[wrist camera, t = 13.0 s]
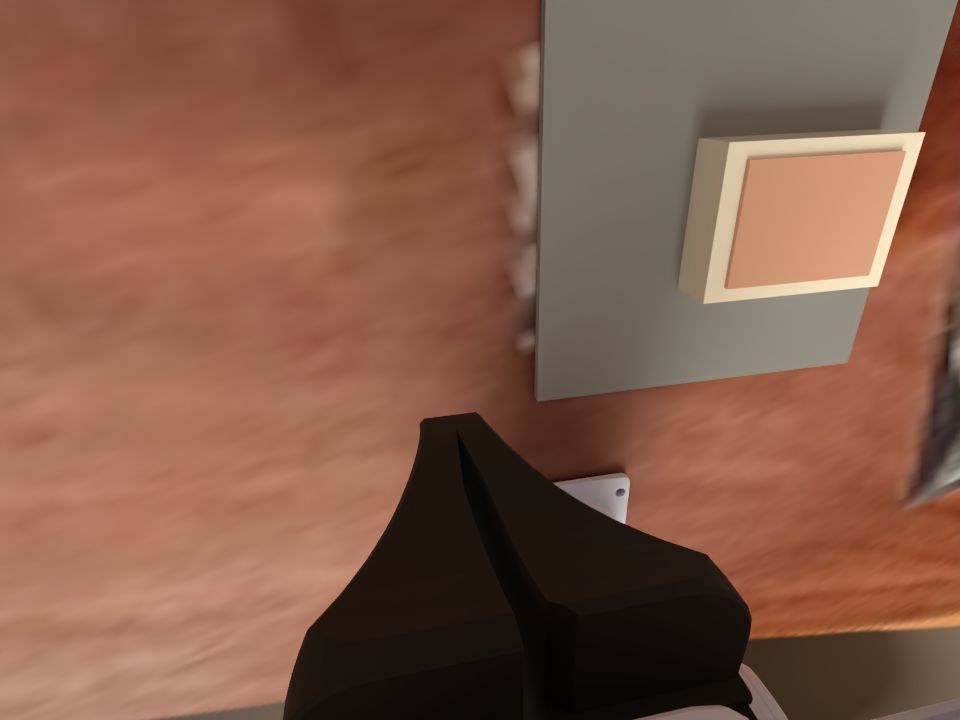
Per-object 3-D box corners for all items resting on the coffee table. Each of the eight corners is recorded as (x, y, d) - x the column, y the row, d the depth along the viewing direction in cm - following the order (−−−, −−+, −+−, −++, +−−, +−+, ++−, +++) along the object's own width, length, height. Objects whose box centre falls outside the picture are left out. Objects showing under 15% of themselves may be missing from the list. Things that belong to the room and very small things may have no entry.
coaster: (677, 288, 23) (840, 272, 25) (706, 305, 21) (881, 287, 23) (698, 138, 21) (880, 128, 22) (733, 142, 19) (930, 132, 20)
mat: (839, 358, 28) (847, 362, 27) (534, 396, 25) (537, 401, 25) (952, -24, 20) (965, -26, 20) (541, -24, 18) (546, -27, 17)
